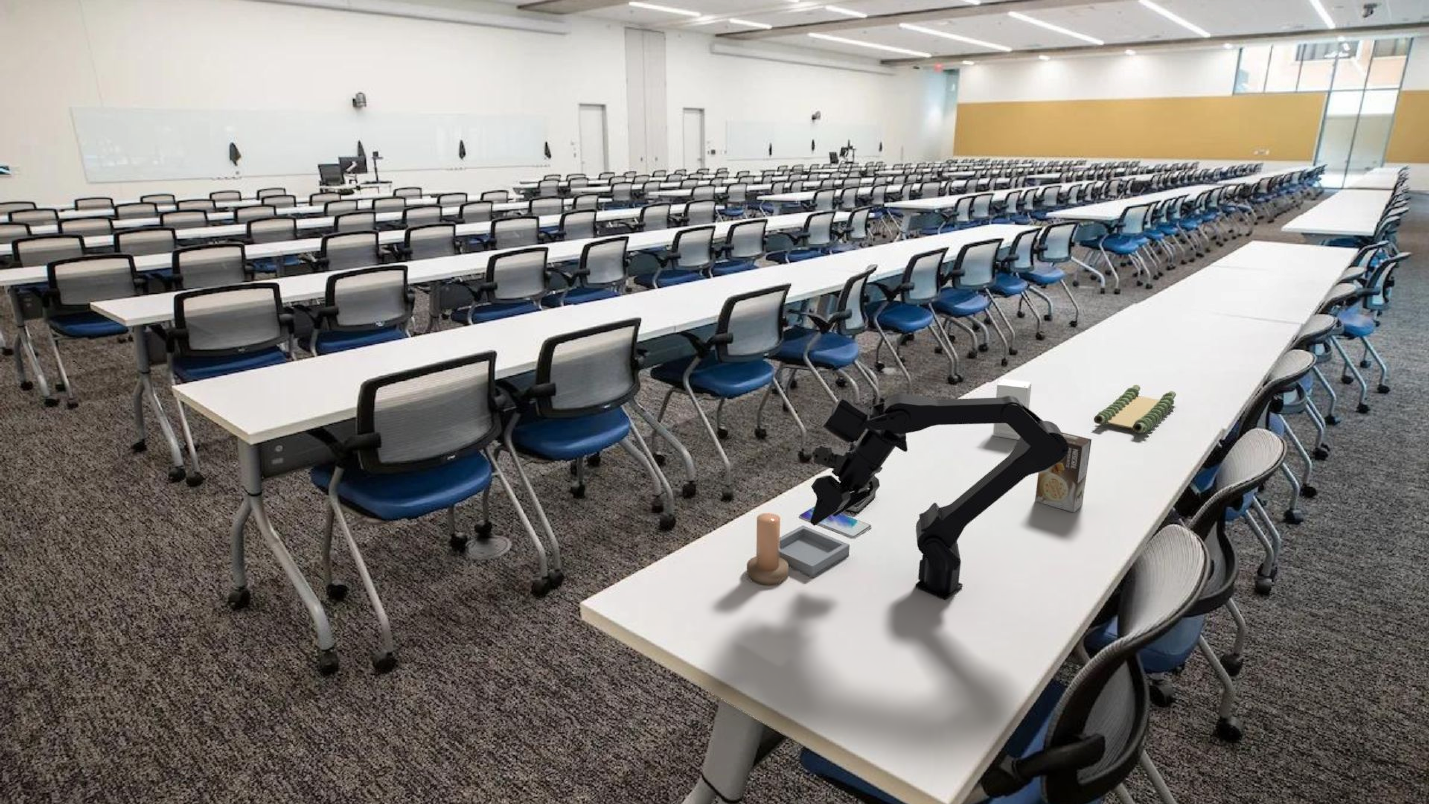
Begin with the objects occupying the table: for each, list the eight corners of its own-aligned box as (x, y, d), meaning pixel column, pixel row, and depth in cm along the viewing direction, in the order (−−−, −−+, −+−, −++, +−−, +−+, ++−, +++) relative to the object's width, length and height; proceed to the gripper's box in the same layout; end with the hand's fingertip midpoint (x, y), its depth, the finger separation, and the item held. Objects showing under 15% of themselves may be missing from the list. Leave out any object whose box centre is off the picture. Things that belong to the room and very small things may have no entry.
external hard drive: (876, 498, 186) (876, 490, 185) (857, 516, 177) (857, 508, 176) (848, 492, 190) (849, 484, 189) (828, 509, 181) (829, 501, 180)
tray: (849, 555, 160) (849, 544, 159) (812, 577, 152) (812, 566, 151) (802, 535, 168) (802, 525, 167) (765, 556, 160) (765, 545, 159)
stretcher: (1142, 442, 220) (1145, 425, 218) (1088, 430, 229) (1090, 414, 227) (1177, 406, 249) (1180, 391, 247) (1127, 397, 258) (1130, 382, 256)
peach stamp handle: (783, 565, 152) (784, 518, 149) (768, 573, 149) (769, 526, 146) (766, 557, 155) (767, 511, 152) (751, 565, 152) (752, 518, 149)
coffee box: (1083, 504, 182) (1094, 438, 177) (1073, 513, 177) (1083, 446, 172) (1043, 492, 188) (1052, 429, 183) (1033, 501, 183) (1041, 436, 178)
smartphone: (854, 537, 166) (797, 515, 176) (854, 541, 167) (797, 519, 176) (873, 525, 171) (816, 504, 181) (872, 528, 172) (816, 507, 181)
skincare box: (1027, 434, 225) (1033, 382, 220) (1021, 441, 219) (1028, 388, 215) (996, 429, 229) (1002, 377, 224) (990, 436, 224) (996, 383, 219)
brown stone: (796, 574, 153) (796, 565, 152) (769, 590, 148) (769, 580, 147) (765, 559, 158) (765, 550, 158) (738, 574, 153) (738, 565, 152)
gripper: (855, 423, 154) (812, 484, 160) (813, 432, 138) (768, 499, 144) (899, 459, 150) (854, 520, 155) (862, 473, 134) (813, 540, 140)
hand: (822, 519), depth 149 cm, fingers open, 9 cm apart
